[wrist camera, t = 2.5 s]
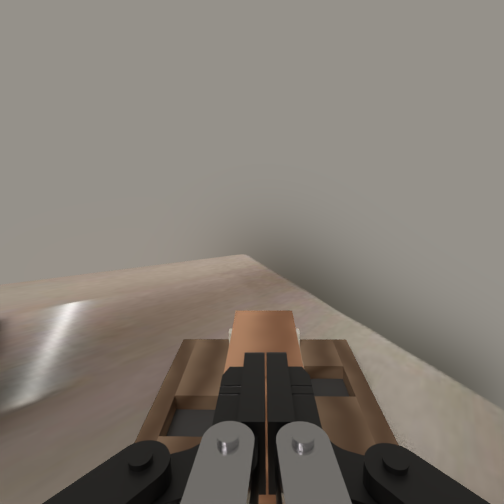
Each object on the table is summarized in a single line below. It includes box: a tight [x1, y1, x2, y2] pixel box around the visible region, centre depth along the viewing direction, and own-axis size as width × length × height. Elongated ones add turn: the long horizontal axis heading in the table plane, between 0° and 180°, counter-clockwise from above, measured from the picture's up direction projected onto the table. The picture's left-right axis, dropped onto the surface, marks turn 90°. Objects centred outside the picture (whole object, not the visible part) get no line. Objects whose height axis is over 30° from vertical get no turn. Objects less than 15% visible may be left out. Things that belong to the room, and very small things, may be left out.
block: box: [224, 311, 304, 504], centre depth 27 cm, size 5×10×12 cm, turn 178°
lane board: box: [135, 329, 398, 455], centre depth 36 cm, size 24×28×4 cm
